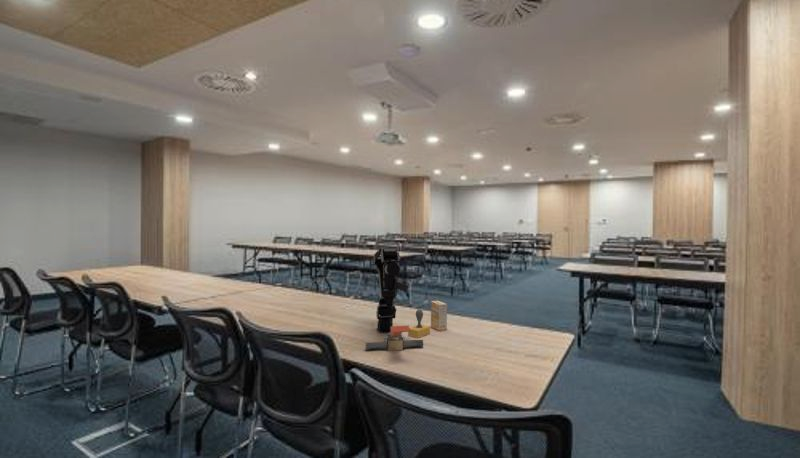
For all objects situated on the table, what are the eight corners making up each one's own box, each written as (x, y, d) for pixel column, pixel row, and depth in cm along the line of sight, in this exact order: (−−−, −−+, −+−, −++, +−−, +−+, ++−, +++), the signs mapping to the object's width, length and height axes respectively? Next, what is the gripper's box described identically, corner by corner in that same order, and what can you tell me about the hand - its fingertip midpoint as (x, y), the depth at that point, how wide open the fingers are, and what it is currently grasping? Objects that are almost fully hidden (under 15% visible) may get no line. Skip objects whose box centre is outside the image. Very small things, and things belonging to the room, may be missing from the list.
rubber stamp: (417, 338, 175) (417, 312, 175) (407, 336, 179) (407, 310, 179) (430, 333, 183) (430, 308, 182) (420, 331, 187) (420, 306, 186)
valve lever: (385, 333, 162) (391, 326, 148) (402, 332, 163) (409, 325, 150) (386, 338, 161) (391, 331, 147) (402, 337, 162) (409, 330, 149)
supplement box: (430, 326, 194) (430, 301, 193) (438, 325, 196) (438, 300, 195) (438, 331, 186) (438, 304, 186) (447, 330, 188) (447, 303, 188)
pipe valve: (365, 348, 162) (365, 334, 162) (421, 344, 166) (421, 331, 166) (366, 352, 157) (366, 338, 157) (423, 348, 161) (423, 335, 161)
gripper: (407, 275, 164) (407, 313, 163) (408, 275, 183) (408, 308, 181) (381, 276, 165) (381, 313, 163) (384, 275, 183) (385, 309, 182)
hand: (390, 311), depth 172 cm, fingers closed
